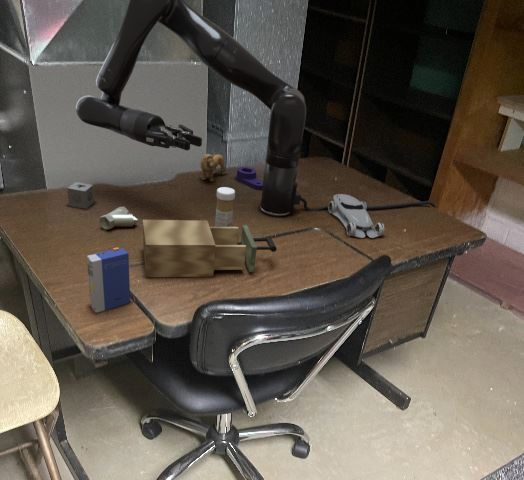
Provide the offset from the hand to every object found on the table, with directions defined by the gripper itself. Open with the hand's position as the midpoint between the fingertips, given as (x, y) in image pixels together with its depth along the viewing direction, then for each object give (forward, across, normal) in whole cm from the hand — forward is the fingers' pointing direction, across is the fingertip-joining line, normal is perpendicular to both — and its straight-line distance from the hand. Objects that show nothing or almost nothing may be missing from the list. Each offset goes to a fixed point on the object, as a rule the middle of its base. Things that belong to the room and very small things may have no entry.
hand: (194, 144), depth 138 cm
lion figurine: (-18, +34, +22) cm, 44 cm away
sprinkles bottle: (+10, 0, +22) cm, 24 cm away
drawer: (+20, -9, +21) cm, 30 cm away
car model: (+30, +38, +22) cm, 54 cm away
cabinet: (+10, -18, +22) cm, 30 cm away
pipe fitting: (-13, -13, +22) cm, 29 cm away
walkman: (+12, -42, +22) cm, 49 cm away
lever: (-7, +40, +22) cm, 47 cm away
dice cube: (-30, -11, +22) cm, 39 cm away
